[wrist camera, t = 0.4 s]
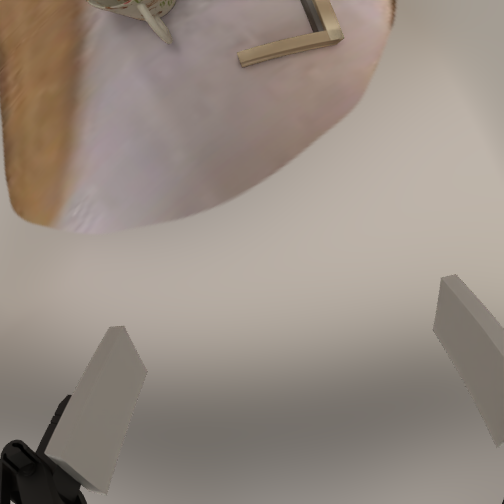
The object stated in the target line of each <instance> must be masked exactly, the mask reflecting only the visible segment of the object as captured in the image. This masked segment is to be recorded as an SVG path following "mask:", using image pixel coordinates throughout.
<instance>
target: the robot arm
mask: <svg viewBox="0 0 504 504" xmlns="http://www.w3.org/2000/svg"><path fill="white" fill-rule="evenodd" d="M433 331H434V333H435V334H436V336H437V338H438V339H439V341H440V342H441V344H442V346H443V347H444V349H445V350H446V353H447V354H448V356H449V358H450V359H451V361H452V363H453V364H454V366H455V368H456V369H457V371H458V373H459V375H460V377H461V378H462V380H463V382H464V384H465V385H466V387H467V389H468V391H469V393H470V395H471V397H472V399H473V401H474V403H475V404H476V406H477V408H478V410H479V412H480V414H481V416H482V418H483V420H484V422H485V424H486V426H487V428H488V430H489V432H490V435H491V437H492V439H493V441H494V443H495V445H496V447H497V448H498V447H500V446H502V445H504V328H503V327H502V326H501V325H500V323H499V322H498V321H497V320H496V319H495V317H494V316H493V315H492V314H491V313H490V312H489V310H488V309H487V308H486V307H485V306H484V305H483V303H482V302H481V301H480V300H479V299H478V298H477V297H476V296H475V294H474V293H473V292H472V291H471V290H470V289H469V288H468V287H467V286H466V285H465V283H464V282H463V281H462V280H461V279H460V278H459V277H458V276H457V275H456V274H455V275H451V276H447V277H442V278H441V282H440V290H439V297H438V303H437V310H436V316H435V322H434V327H433ZM147 372H148V371H147V369H146V368H145V366H144V364H143V362H142V360H141V358H140V356H139V354H138V353H137V350H136V349H135V347H134V345H133V343H132V341H131V339H130V337H129V335H128V333H127V331H126V329H125V327H124V326H116V327H109V329H108V331H107V332H106V334H105V336H104V337H103V339H102V341H101V343H100V345H99V346H98V348H97V350H96V352H95V354H94V355H93V357H92V359H91V361H90V362H89V364H88V366H87V368H86V370H85V372H84V373H83V375H82V377H81V379H80V381H79V383H78V385H77V387H76V388H75V391H74V392H73V394H72V395H68V396H67V397H66V398H65V399H64V400H63V401H62V402H61V403H60V404H59V406H58V408H57V410H56V412H55V416H53V418H52V420H51V424H49V426H48V428H47V430H46V432H45V434H44V436H43V438H42V440H41V442H40V445H39V446H38V449H37V451H36V452H33V451H32V450H31V449H30V448H29V447H28V446H27V445H26V444H25V443H24V442H23V441H21V440H14V441H11V442H10V443H8V444H7V445H6V446H5V447H4V449H3V451H2V453H1V459H0V504H10V500H11V501H12V502H14V503H15V504H87V502H86V500H85V498H84V495H83V494H82V492H81V491H80V490H79V489H80V486H81V485H82V486H83V487H85V488H86V489H87V490H89V491H90V492H94V493H98V494H102V495H107V492H108V489H109V486H110V483H111V479H112V476H113V473H114V470H115V466H116V463H117V460H118V457H119V454H120V450H121V447H122V444H123V441H124V438H125V435H126V432H127V429H128V426H129V423H130V420H131V417H132V414H133V411H134V408H135V406H136V403H137V400H138V397H139V394H140V391H141V389H142V386H143V383H144V380H145V377H146V375H147ZM502 504H504V500H503V502H502Z"/></svg>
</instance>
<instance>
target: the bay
mask: <svg viewBox="0 0 504 504" xmlns="http://www.w3.org/2000/svg"><path fill="white" fill-rule="evenodd" d="M301 2H302V5H303V7H304V10H305V12H306V14H307V17H308V19H309V22H310V24H311V27H312V30H313V32H314V33H310V34H305V35H301V36H296V37H292V38H288V39H284V40H279V41H276V42H272V43H268V44H264V45H261V46H257V47H254V48H250V49H247V50H243V51H240V52H237V55H238V58H239V60H240V63H241V65H242V68H243V67H246V66H249V65H253V64H256V63H260V62H263V61H267V60H270V59H274V58H278V57H282V56H286V55H290V54H294V53H298V52H302V51H307V50H311V49H316V48H321V47H326V46H331V45H336V44H338V43H339V42H340V41H341V40H343V39H344V36H343V33H342V31H341V28H340V25H339V23H338V20H337V18H336V15H335V13H334V10H333V8H332V6H331V3H330V1H329V0H301Z"/></svg>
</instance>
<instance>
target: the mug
mask: <svg viewBox="0 0 504 504" xmlns="http://www.w3.org/2000/svg"><path fill="white" fill-rule="evenodd" d="M86 1H87V2H88V3H89V4H90V5H92V6H94V7H96V8H99V9H102V10H106V11H110V12H113V13H117V14H121V15H124V16H128V17H131V18H134V19H138V20H142V21H147V23H148V24H149V26H150V27H151V28H152V29H153V31H154V32H155V33H156V34H157V35H158V36H159V38H160V39H161V40H163V41H164V42H165V43H167V44H171V43H172V41H173V39H172V36H171V34H170V32H169V30H168V28H167V27H166V25H165V24H164V23H163V21H162V20H161V19H160V18H161V17H163V16H164V15H166V14H167V13H168V12H169V11H170V10H171V9H172V8H173V6H174V4H175V2H176V0H86Z"/></svg>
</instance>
